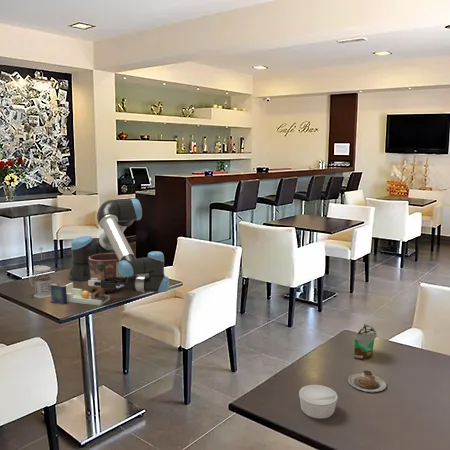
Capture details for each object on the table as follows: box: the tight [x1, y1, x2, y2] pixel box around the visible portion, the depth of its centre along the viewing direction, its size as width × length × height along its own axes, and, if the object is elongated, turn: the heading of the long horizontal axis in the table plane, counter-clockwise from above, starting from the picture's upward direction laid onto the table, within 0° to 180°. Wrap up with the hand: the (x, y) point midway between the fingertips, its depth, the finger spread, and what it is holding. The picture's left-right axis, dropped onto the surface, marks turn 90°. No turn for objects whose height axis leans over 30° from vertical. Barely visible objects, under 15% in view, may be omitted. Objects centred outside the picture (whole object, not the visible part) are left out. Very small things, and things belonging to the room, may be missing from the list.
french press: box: [28, 246, 52, 299], centre depth 245 cm, size 10×12×25 cm
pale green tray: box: [65, 281, 111, 306], centre depth 238 cm, size 9×22×7 cm, turn 74°
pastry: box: [347, 370, 387, 394], centre depth 157 cm, size 12×12×5 cm
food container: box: [353, 323, 378, 361], centre depth 177 cm, size 12×6×10 cm, turn 148°
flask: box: [50, 280, 68, 305], centre depth 235 cm, size 9×3×11 cm, turn 65°
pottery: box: [88, 253, 121, 294], centre depth 255 cm, size 18×18×18 cm
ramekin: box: [298, 384, 338, 420], centre depth 141 cm, size 11×11×5 cm
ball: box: [81, 290, 90, 299], centre depth 239 cm, size 4×4×4 cm
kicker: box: [91, 262, 108, 301], centre depth 235 cm, size 6×6×19 cm
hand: (90, 281), depth 235 cm, fingers closed on kicker, 3 cm apart
